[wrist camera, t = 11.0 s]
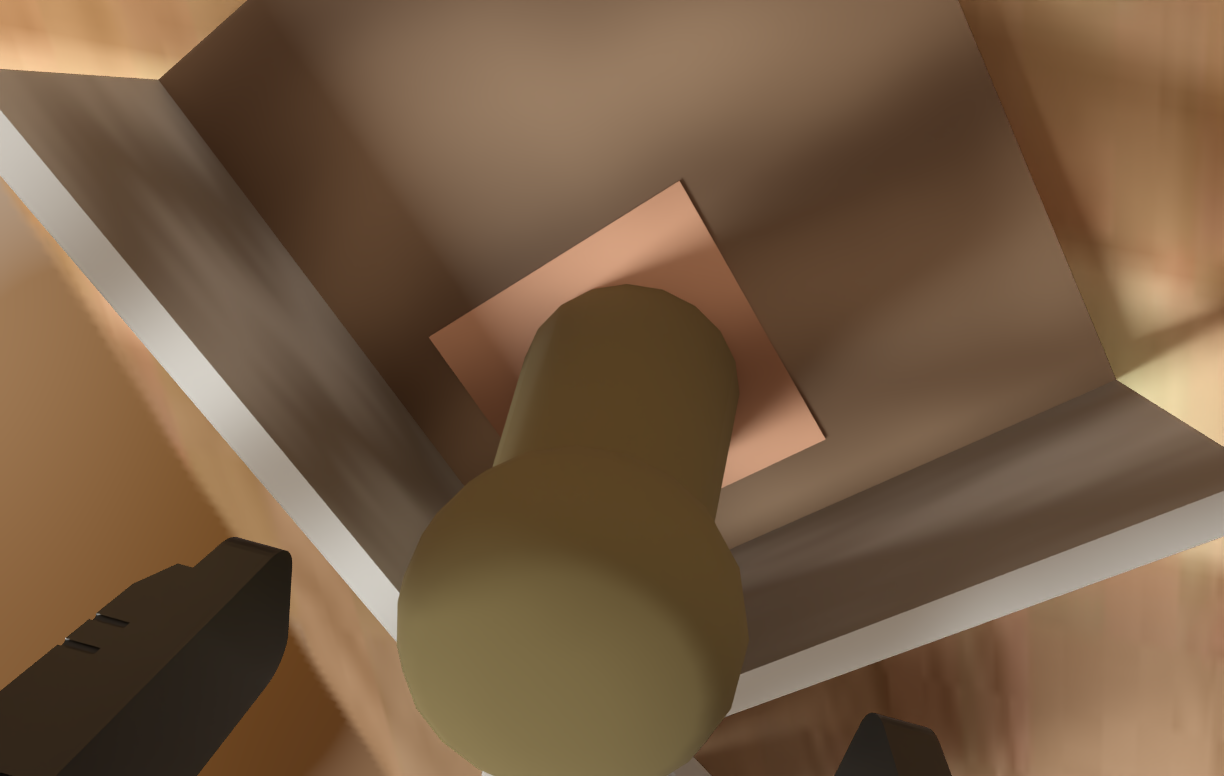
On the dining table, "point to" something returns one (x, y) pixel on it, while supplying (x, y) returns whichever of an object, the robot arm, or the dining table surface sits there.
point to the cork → (588, 555)
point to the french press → (691, 772)
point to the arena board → (628, 254)
